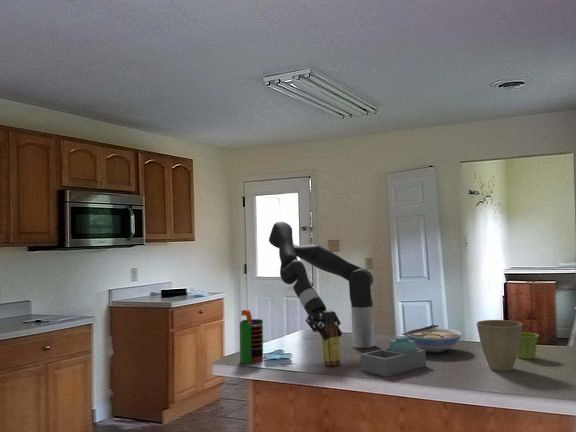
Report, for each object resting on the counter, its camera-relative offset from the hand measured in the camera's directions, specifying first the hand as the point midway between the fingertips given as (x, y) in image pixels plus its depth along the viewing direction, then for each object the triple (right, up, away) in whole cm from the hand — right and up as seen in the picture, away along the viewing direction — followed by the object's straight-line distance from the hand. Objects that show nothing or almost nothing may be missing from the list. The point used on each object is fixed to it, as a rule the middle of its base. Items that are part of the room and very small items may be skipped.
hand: (333, 337), depth 205 cm
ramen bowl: (+42, -10, +19) cm, 47 cm away
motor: (-31, -12, +11) cm, 35 cm away
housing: (+21, -9, -8) cm, 24 cm away
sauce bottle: (-1, -11, +1) cm, 11 cm away
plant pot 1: (+57, -8, -14) cm, 60 cm away
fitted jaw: (+25, -8, -5) cm, 27 cm away
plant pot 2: (+73, -8, +2) cm, 73 cm away
